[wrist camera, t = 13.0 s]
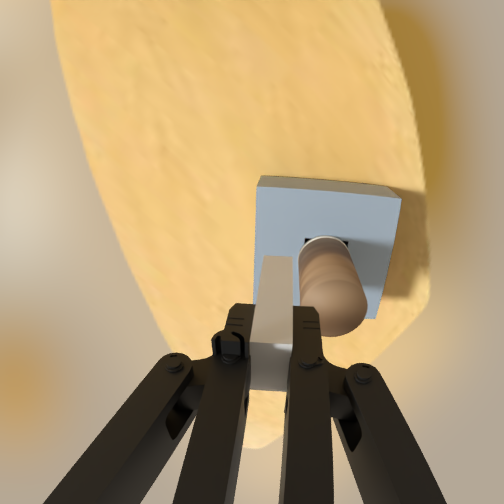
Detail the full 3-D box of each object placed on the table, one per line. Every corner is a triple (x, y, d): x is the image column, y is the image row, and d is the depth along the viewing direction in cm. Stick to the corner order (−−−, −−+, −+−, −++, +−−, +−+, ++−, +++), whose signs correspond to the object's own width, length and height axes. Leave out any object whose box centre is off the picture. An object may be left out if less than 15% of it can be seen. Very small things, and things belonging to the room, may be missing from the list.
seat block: (261, 175, 38) (256, 186, 33) (386, 186, 37) (401, 198, 32) (257, 287, 45) (252, 312, 40) (366, 294, 44) (375, 318, 38)
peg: (298, 218, 39) (303, 278, 26) (346, 222, 39) (374, 282, 25) (294, 262, 42) (296, 335, 28) (340, 265, 41) (360, 338, 28)
